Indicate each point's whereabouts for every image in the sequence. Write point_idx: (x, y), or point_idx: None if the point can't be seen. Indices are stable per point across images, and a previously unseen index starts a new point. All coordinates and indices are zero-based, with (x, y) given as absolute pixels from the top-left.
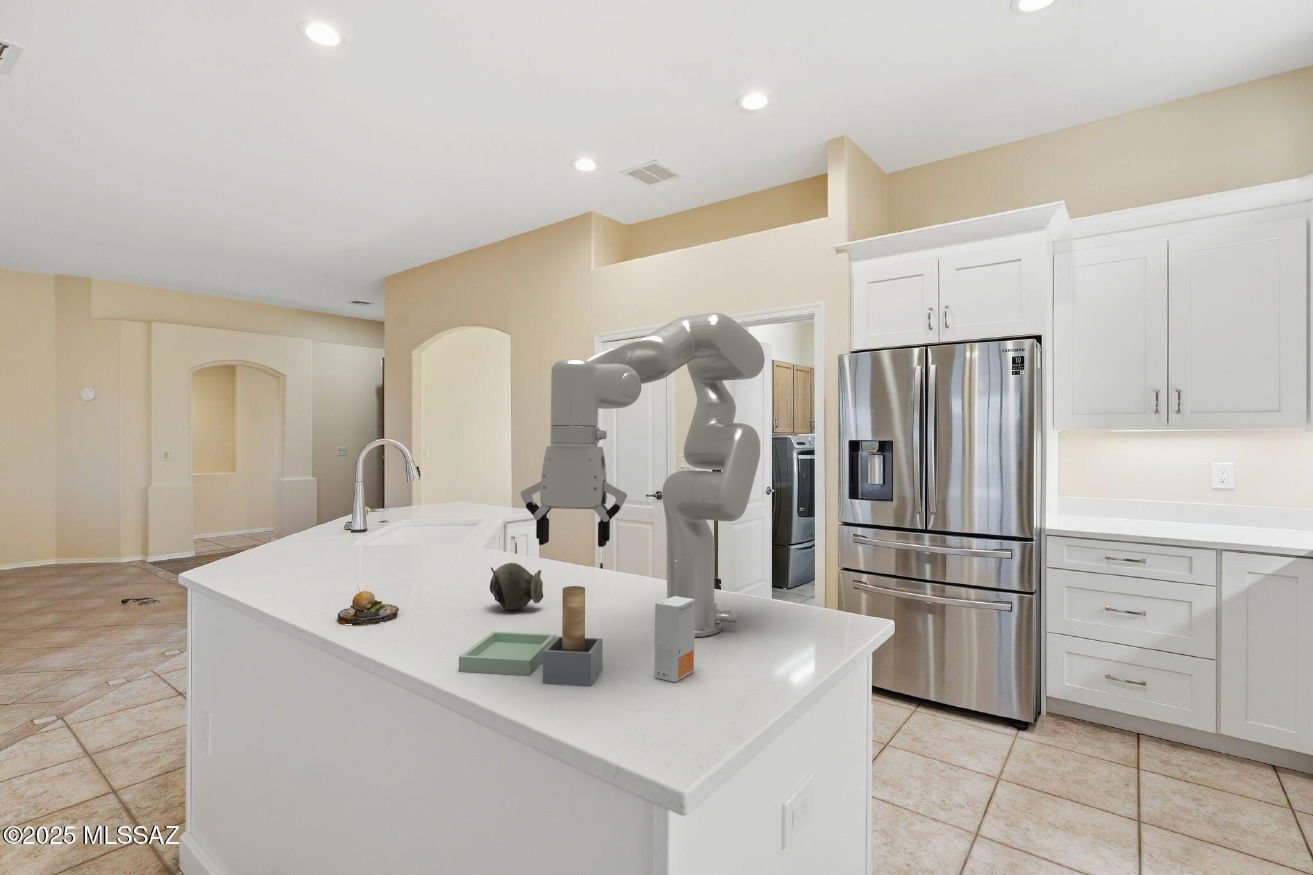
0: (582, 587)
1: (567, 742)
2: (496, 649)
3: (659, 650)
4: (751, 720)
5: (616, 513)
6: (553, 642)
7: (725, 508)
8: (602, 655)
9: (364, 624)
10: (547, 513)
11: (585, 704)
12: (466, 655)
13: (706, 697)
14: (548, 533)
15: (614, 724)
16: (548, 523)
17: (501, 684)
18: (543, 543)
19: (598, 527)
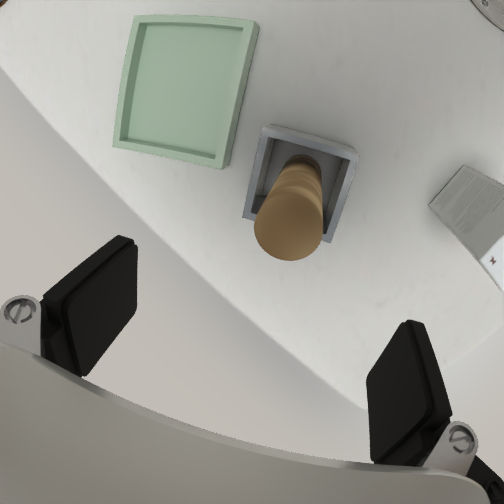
0: (315, 218)
1: (292, 354)
2: (155, 62)
3: (449, 228)
4: (473, 335)
5: (482, 466)
6: (257, 168)
7: None
8: (355, 150)
9: (4, 2)
10: (42, 337)
11: (317, 280)
12: (120, 141)
13: (465, 280)
14: (115, 267)
15: (344, 331)
16: (84, 301)
17: (193, 197)
18: (135, 308)
19: (372, 443)
